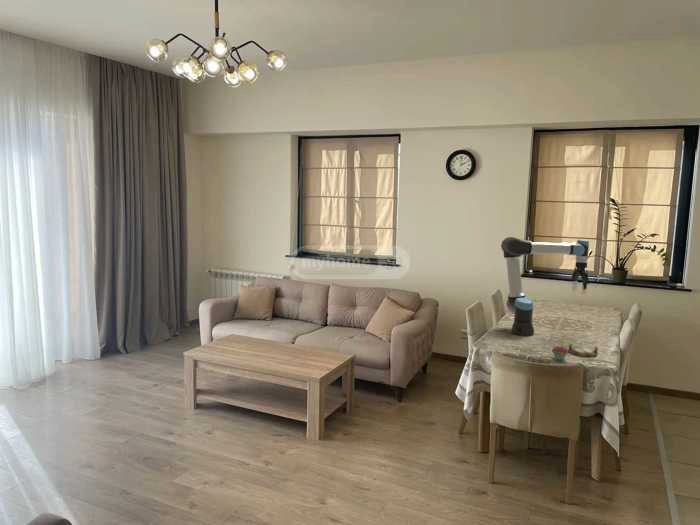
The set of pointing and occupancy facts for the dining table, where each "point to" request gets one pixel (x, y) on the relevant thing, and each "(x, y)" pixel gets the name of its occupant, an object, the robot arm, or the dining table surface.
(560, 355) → the cupcake
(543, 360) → the dining table surface
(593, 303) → the dining table surface
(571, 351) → the plate
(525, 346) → the dining table surface
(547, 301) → the dining table surface
